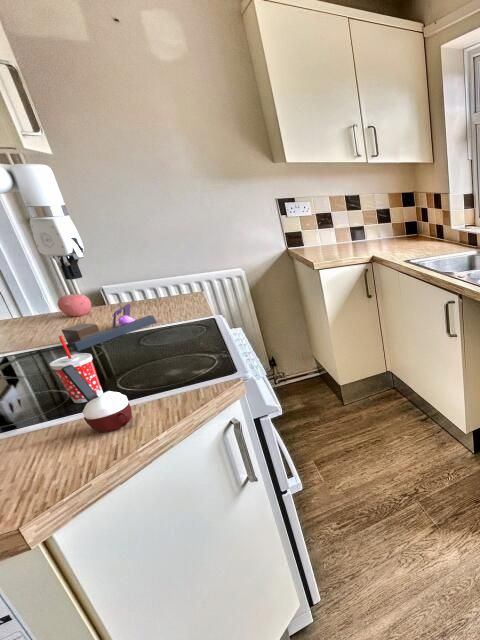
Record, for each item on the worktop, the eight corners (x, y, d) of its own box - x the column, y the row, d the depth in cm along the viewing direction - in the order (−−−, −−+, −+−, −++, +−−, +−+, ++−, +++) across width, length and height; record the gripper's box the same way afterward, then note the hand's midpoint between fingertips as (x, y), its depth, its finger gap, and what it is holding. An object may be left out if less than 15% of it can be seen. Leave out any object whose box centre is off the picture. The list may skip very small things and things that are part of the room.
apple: (101, 312, 141) (91, 289, 138) (76, 320, 135) (66, 296, 131) (83, 311, 142) (73, 288, 139) (58, 319, 136) (47, 295, 133)
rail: (73, 351, 111) (69, 342, 110) (152, 322, 131) (149, 315, 130) (78, 351, 111) (74, 343, 110) (156, 323, 131) (153, 315, 130)
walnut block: (69, 346, 114) (61, 329, 112) (88, 339, 119) (81, 323, 117) (84, 347, 113) (76, 330, 111) (103, 340, 118) (96, 324, 116)
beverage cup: (77, 394, 90) (48, 333, 84) (113, 388, 92) (87, 328, 86) (62, 408, 84) (30, 344, 79) (100, 402, 86) (71, 339, 81)
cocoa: (142, 426, 78) (118, 368, 73) (97, 443, 73) (68, 382, 69) (128, 410, 83) (104, 355, 79) (85, 425, 79) (57, 367, 74)
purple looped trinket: (125, 302, 128) (110, 311, 120) (147, 306, 130) (133, 315, 122) (124, 323, 130) (109, 333, 122) (145, 326, 132) (132, 336, 124)
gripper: (9, 213, 113) (37, 280, 120) (55, 214, 110) (81, 282, 117) (42, 211, 120) (67, 274, 126) (86, 212, 117) (109, 276, 124)
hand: (74, 278), depth 122 cm, fingers closed
